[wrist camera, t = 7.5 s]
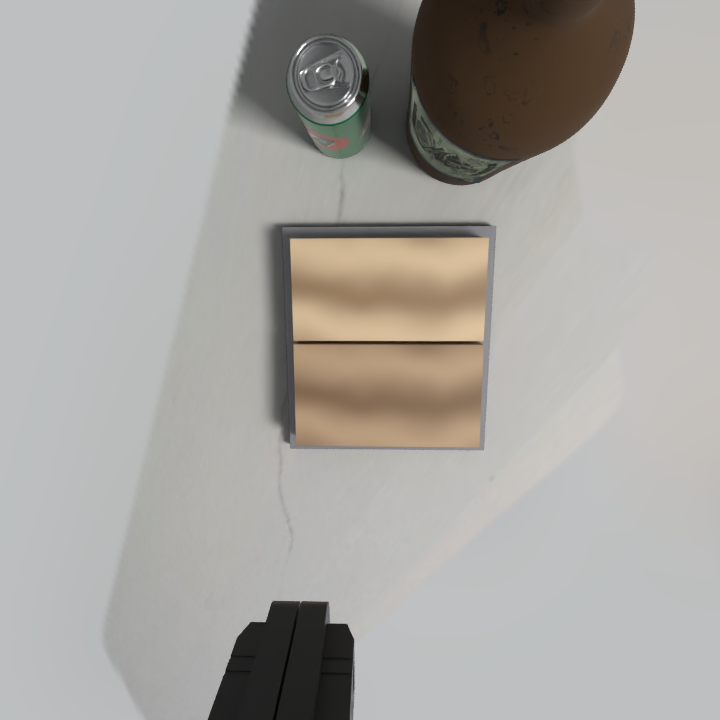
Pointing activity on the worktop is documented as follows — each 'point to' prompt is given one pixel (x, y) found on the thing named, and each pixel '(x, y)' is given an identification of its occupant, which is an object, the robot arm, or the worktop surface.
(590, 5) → the brown bottle
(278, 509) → the worktop surface
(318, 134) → the soda can
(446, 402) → the brown wooden board
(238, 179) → the worktop surface
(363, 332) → the oak plank
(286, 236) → the gray flat board
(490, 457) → the worktop surface
